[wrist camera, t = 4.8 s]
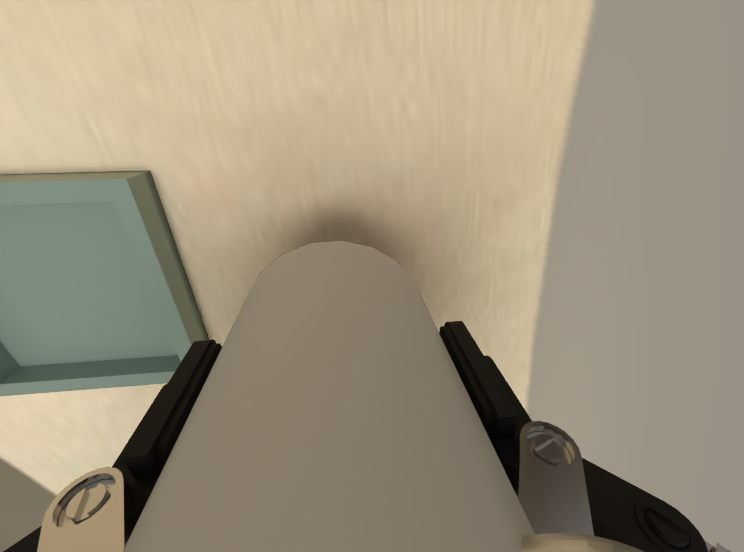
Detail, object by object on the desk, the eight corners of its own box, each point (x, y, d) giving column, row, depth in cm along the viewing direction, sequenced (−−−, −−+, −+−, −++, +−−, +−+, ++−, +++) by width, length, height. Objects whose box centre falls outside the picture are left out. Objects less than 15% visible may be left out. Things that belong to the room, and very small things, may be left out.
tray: (215, 358, 22) (204, 380, 20) (18, 372, 21) (-10, 397, 19) (149, 170, 16) (126, 179, 14) (-137, 177, 15) (-201, 188, 13)
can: (215, 322, 13) (-218, 1073, 3) (323, 193, 11) (171, 1169, 1) (345, 393, 16) (365, 900, 6) (450, 300, 14) (780, 829, 4)
